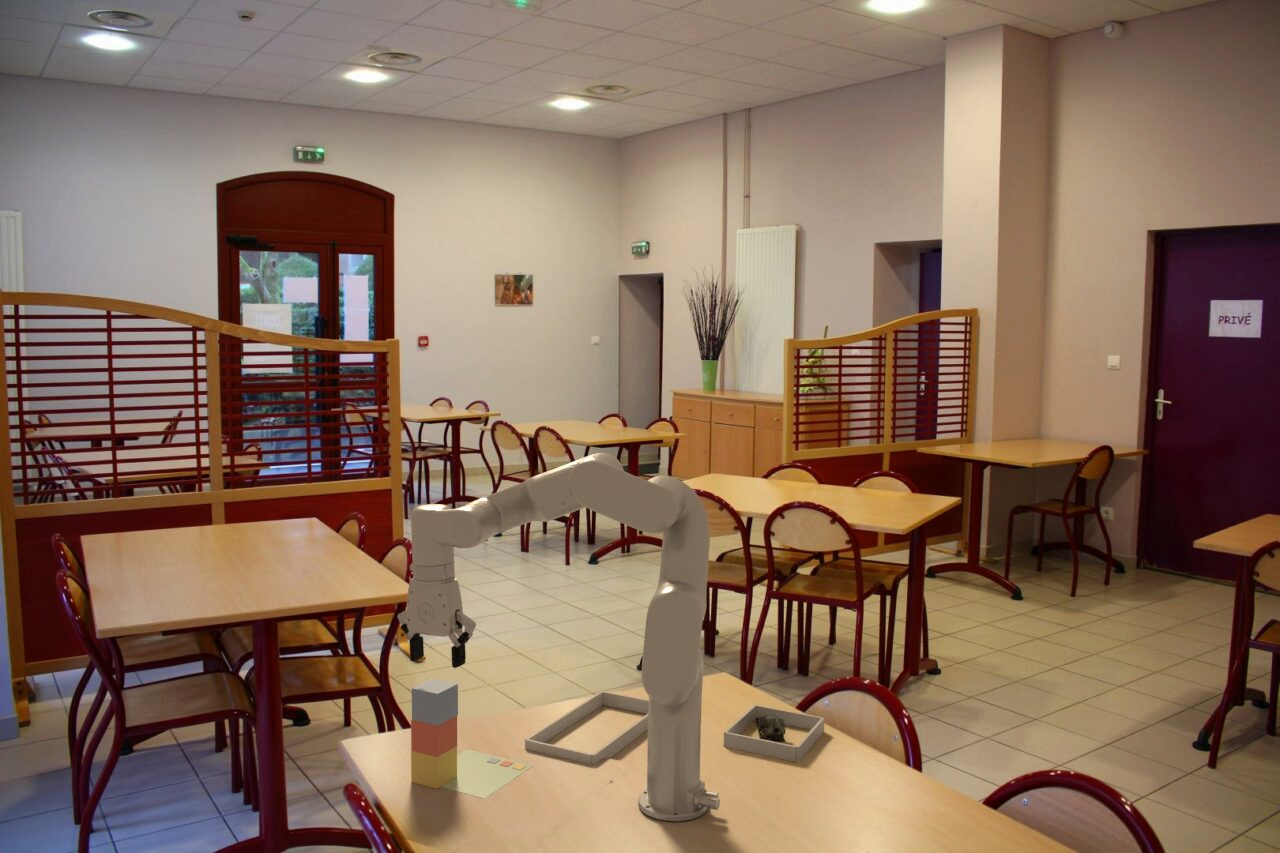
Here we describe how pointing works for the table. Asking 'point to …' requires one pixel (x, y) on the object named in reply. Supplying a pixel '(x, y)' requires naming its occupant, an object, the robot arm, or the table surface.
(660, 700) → the robot arm
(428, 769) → the ochre block
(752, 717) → the shell frame
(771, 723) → the dark grey lumpy lump
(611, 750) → the beige open rectangular frame
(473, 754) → the building board
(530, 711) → the table surface
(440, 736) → the red block
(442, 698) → the slate block
